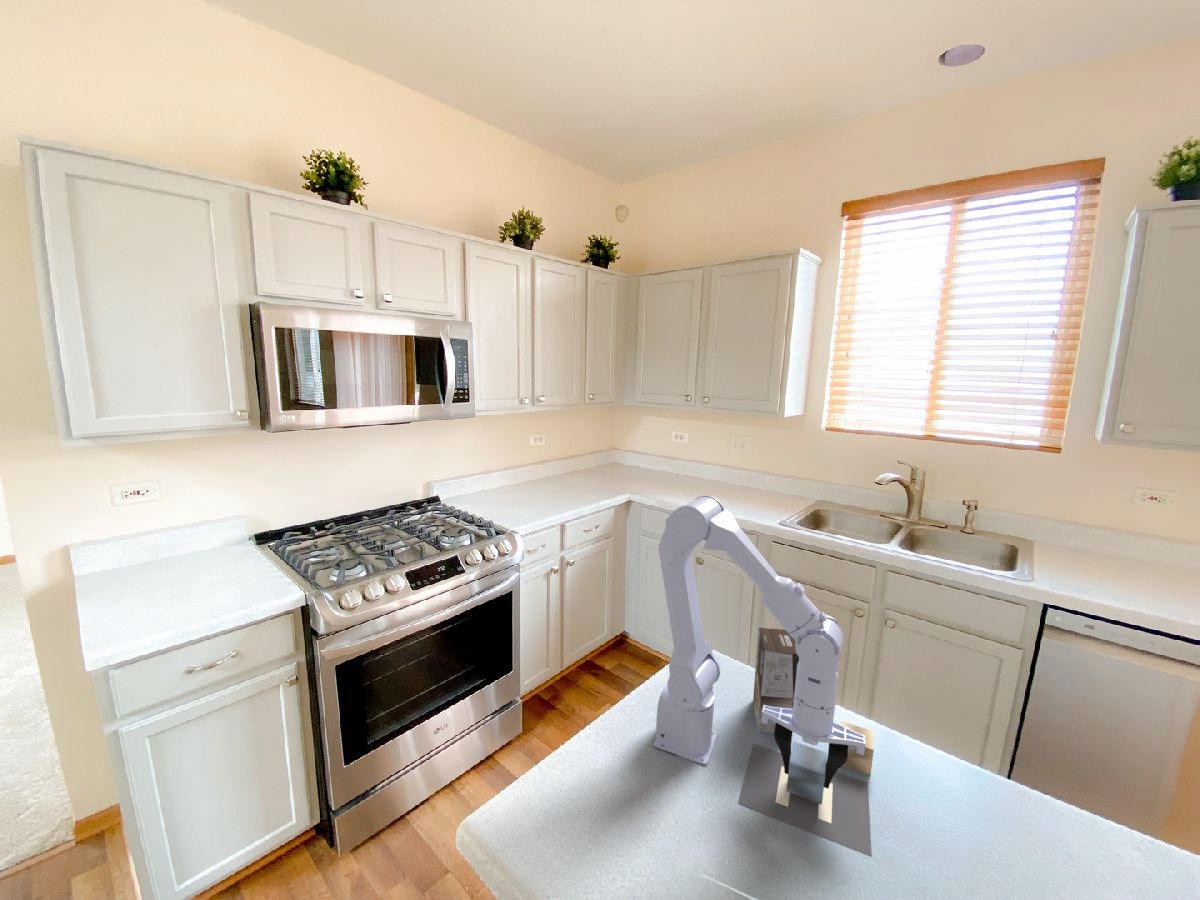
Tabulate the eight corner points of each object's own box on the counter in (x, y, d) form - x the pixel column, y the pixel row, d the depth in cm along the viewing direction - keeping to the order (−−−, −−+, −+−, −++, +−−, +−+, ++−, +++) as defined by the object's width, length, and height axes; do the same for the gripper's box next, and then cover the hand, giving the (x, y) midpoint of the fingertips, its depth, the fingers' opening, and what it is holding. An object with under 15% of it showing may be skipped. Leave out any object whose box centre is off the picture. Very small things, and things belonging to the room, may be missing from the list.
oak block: (836, 765, 84) (839, 739, 83) (837, 746, 88) (840, 721, 88) (870, 777, 82) (873, 750, 81) (869, 756, 86) (872, 730, 85)
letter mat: (737, 804, 76) (737, 803, 76) (753, 744, 88) (753, 743, 88) (871, 857, 68) (871, 856, 68) (867, 783, 80) (867, 782, 80)
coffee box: (793, 737, 90) (801, 655, 88) (756, 731, 91) (763, 650, 89) (785, 705, 99) (792, 629, 96) (752, 700, 100) (758, 625, 98)
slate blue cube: (786, 790, 76) (789, 762, 76) (790, 768, 81) (793, 741, 80) (821, 804, 74) (825, 775, 73) (823, 780, 79) (827, 752, 78)
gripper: (761, 697, 75) (754, 776, 77) (869, 729, 69) (859, 815, 71) (767, 672, 81) (761, 747, 83) (867, 700, 75) (858, 779, 77)
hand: (806, 776), depth 77 cm, fingers closed on slate blue cube, 5 cm apart
